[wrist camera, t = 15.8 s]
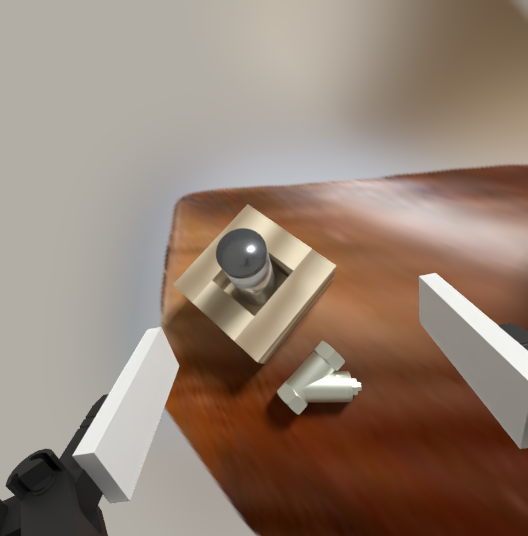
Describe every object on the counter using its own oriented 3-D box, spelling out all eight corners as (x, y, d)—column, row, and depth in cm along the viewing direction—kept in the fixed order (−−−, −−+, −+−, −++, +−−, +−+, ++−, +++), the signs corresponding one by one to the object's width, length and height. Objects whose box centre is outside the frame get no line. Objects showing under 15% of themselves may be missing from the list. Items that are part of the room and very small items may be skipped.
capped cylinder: (284, 285, 39) (277, 247, 28) (259, 313, 38) (241, 285, 27) (257, 263, 41) (240, 219, 30) (232, 289, 40) (205, 254, 29)
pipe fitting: (363, 381, 36) (320, 341, 37) (371, 384, 32) (323, 339, 34) (319, 433, 34) (277, 389, 36) (322, 442, 31) (275, 393, 32)
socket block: (332, 281, 40) (336, 265, 34) (265, 364, 37) (257, 362, 32) (255, 225, 44) (247, 204, 39) (191, 296, 42) (172, 284, 36)
